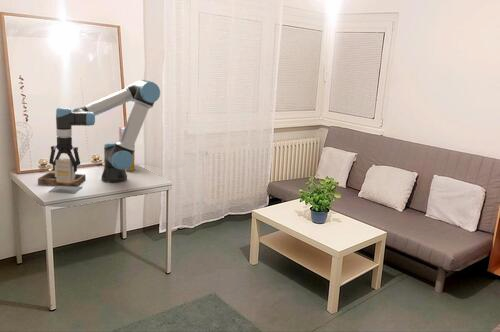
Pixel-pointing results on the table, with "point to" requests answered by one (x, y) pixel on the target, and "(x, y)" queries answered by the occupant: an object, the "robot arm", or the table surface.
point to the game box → (134, 148)
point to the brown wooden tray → (51, 180)
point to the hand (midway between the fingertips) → (65, 176)
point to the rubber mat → (65, 189)
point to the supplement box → (64, 171)
